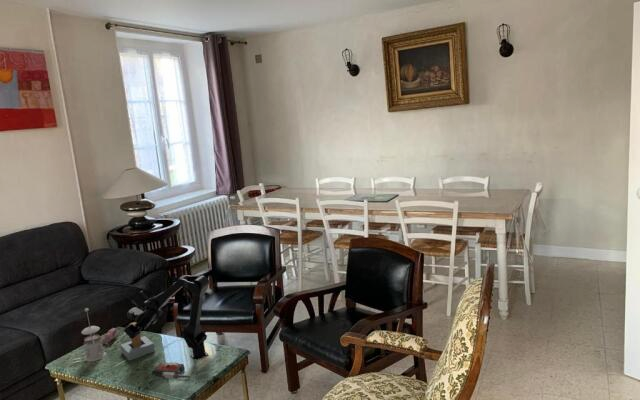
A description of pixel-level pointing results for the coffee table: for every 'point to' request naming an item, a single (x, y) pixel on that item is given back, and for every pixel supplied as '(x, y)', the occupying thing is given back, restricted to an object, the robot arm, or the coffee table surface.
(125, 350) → the socket block
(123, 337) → the coffee table surface
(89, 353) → the french press
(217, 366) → the coffee table surface
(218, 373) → the coffee table surface
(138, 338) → the peg
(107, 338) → the video game controller
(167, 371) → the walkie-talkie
